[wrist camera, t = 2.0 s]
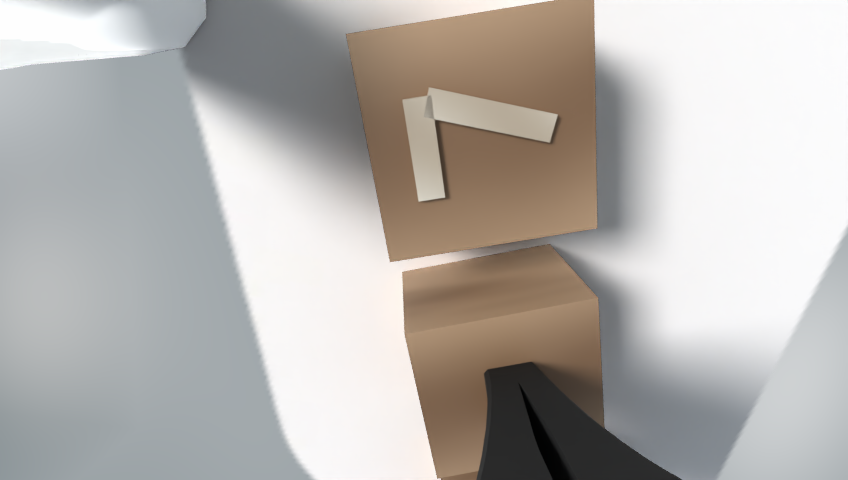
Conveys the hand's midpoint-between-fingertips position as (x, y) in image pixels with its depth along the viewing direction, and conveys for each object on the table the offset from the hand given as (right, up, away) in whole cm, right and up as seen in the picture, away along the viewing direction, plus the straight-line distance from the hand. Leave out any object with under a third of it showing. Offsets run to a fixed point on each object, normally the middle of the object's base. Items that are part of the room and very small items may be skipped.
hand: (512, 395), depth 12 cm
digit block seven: (-1, +8, +1) cm, 8 cm away
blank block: (0, +1, +4) cm, 4 cm away
